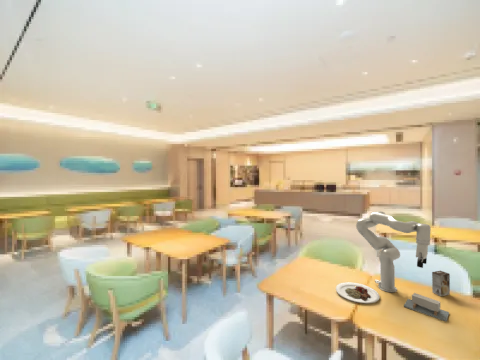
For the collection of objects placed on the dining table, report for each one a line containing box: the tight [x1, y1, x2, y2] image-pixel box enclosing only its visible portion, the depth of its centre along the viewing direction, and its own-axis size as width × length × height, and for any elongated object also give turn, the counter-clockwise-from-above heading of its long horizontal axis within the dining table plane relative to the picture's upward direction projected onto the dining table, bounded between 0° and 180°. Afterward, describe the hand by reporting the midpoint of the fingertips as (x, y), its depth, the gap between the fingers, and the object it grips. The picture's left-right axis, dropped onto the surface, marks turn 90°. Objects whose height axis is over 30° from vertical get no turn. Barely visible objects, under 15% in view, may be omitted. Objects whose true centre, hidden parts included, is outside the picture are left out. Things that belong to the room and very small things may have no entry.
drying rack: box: [403, 298, 450, 323], centre depth 152 cm, size 22×12×3 cm, turn 42°
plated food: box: [335, 281, 381, 304], centre depth 174 cm, size 30×30×3 cm
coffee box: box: [431, 270, 451, 297], centre depth 172 cm, size 9×6×16 cm
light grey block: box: [411, 292, 441, 312], centre depth 152 cm, size 14×5×5 cm, turn 35°
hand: (421, 265), depth 160 cm, fingers open, 9 cm apart
